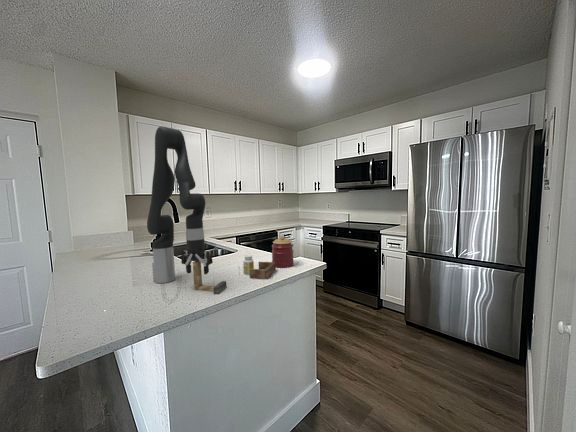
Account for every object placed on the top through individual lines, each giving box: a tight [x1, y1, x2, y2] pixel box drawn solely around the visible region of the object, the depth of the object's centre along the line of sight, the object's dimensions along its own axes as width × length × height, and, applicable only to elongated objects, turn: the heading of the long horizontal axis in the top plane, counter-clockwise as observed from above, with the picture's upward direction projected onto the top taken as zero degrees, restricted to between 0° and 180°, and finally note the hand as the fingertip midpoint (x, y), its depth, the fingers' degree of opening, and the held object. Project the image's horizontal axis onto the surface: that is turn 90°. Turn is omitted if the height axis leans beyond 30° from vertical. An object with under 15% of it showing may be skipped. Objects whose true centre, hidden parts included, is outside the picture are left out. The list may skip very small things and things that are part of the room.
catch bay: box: [249, 261, 277, 280], centre depth 131 cm, size 10×15×4 cm, turn 167°
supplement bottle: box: [243, 254, 255, 276], centre depth 133 cm, size 5×5×10 cm
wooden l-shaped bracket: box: [192, 260, 227, 295], centre depth 111 cm, size 13×8×13 cm, turn 77°
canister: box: [271, 235, 294, 269], centre depth 147 cm, size 13×13×18 cm
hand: (197, 273), depth 112 cm, fingers open, 8 cm apart
